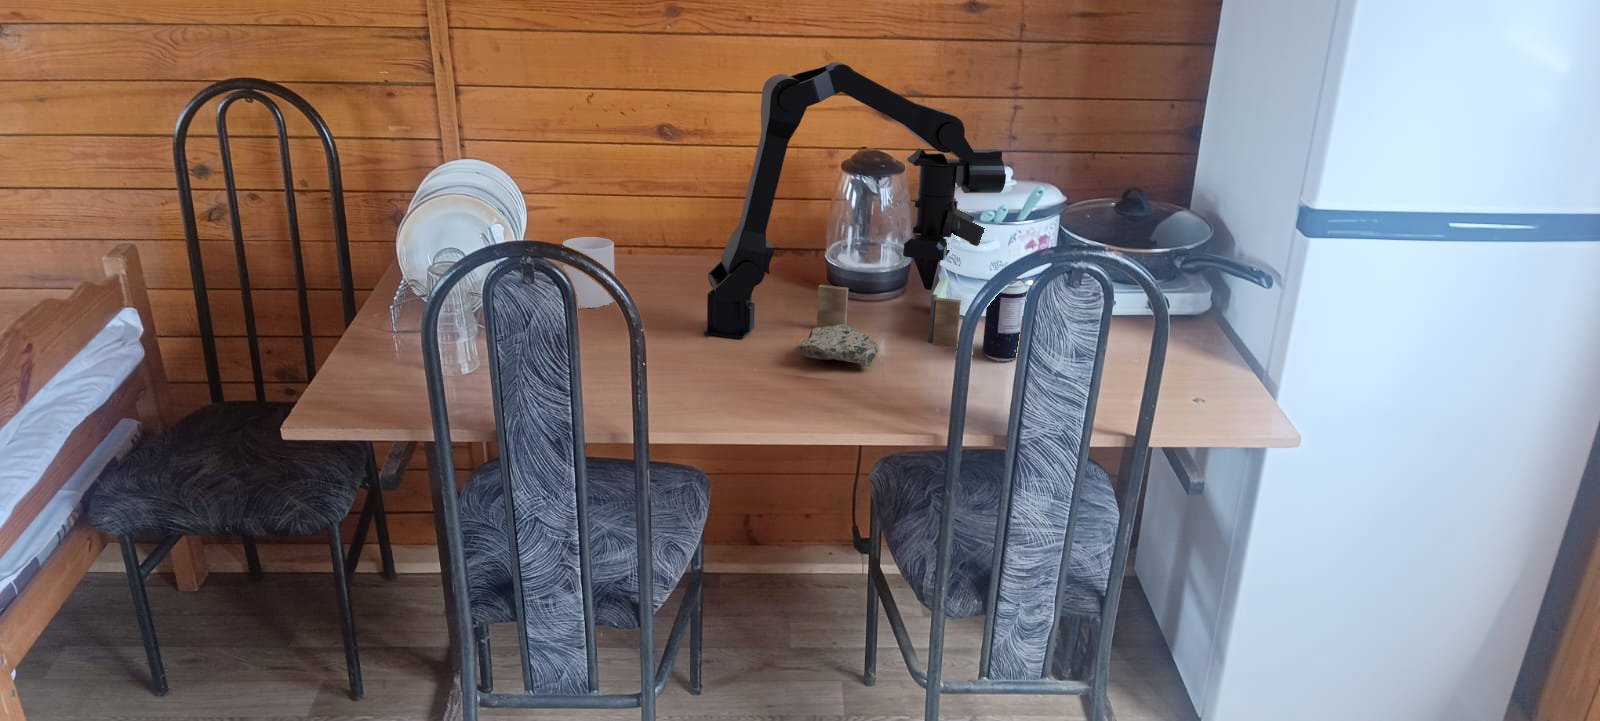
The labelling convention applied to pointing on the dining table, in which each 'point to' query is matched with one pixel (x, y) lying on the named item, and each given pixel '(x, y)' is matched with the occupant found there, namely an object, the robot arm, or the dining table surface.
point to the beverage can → (1004, 323)
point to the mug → (584, 285)
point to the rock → (839, 345)
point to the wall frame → (941, 314)
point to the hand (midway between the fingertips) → (928, 289)
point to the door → (941, 287)
